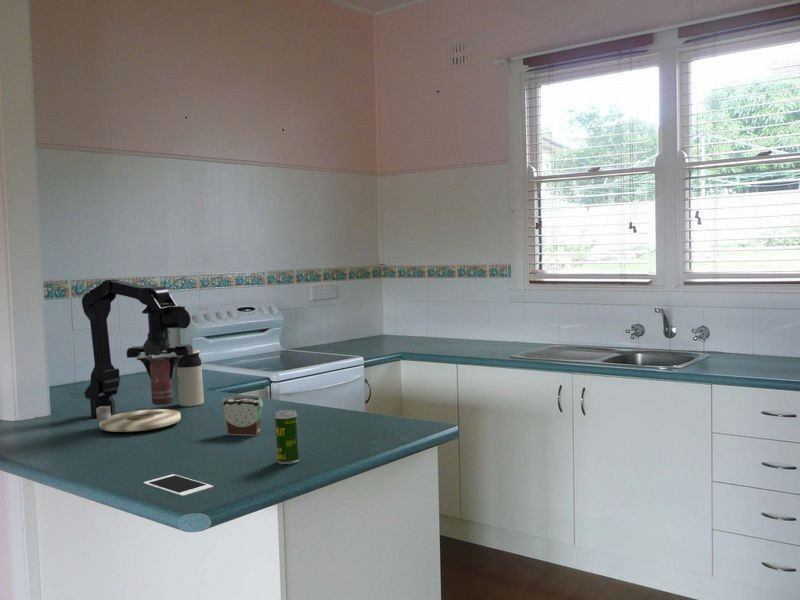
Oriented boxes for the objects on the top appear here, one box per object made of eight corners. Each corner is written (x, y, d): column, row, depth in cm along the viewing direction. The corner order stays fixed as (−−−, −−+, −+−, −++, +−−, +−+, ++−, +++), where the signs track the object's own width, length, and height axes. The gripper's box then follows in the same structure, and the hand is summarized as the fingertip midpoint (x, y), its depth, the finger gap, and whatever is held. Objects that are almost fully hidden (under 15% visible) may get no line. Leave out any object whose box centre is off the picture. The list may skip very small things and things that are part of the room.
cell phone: (182, 498, 166) (182, 495, 166) (142, 485, 177) (142, 482, 177) (214, 488, 172) (214, 485, 172) (173, 476, 183) (173, 473, 183)
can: (168, 405, 240) (165, 359, 239) (148, 405, 241) (145, 359, 240) (177, 401, 246) (174, 356, 245) (158, 401, 247) (155, 356, 246)
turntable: (82, 433, 225) (81, 415, 225) (114, 415, 248) (113, 399, 248) (166, 430, 224) (165, 412, 224) (190, 412, 247) (189, 396, 247)
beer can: (289, 457, 193) (286, 408, 192) (304, 460, 190) (301, 411, 189) (272, 462, 189) (269, 413, 188) (287, 466, 186) (284, 415, 185)
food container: (272, 430, 223) (270, 395, 222) (262, 436, 217) (260, 399, 216) (234, 429, 227) (232, 394, 226) (222, 434, 221) (220, 399, 220)
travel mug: (207, 401, 270) (204, 349, 269) (199, 406, 263) (195, 352, 261) (184, 402, 271) (181, 350, 270) (175, 407, 263) (172, 353, 262)
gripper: (118, 332, 234) (121, 384, 235) (181, 330, 233) (184, 382, 234) (131, 328, 245) (134, 378, 246) (191, 326, 244) (194, 376, 246)
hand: (161, 379), depth 243 cm, fingers closed on can, 6 cm apart
